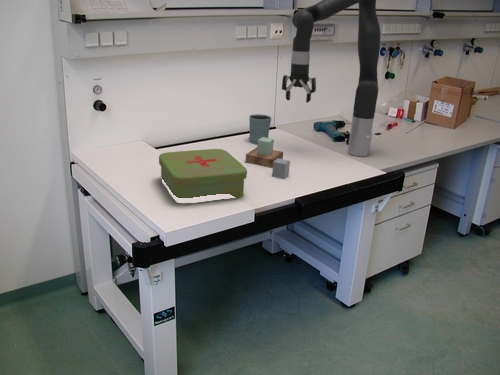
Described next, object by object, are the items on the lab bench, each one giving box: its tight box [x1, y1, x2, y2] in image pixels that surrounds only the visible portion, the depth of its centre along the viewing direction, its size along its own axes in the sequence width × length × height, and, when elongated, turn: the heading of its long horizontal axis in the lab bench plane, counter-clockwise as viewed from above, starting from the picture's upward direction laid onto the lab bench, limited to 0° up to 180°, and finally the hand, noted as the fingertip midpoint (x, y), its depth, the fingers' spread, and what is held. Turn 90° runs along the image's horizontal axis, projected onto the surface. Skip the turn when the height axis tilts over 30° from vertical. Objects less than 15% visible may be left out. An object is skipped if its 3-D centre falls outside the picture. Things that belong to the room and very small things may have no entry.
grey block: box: [271, 158, 291, 180], centre depth 190 cm, size 5×5×6 cm
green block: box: [256, 137, 275, 156], centre depth 203 cm, size 5×5×6 cm
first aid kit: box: [158, 148, 248, 199], centre depth 173 cm, size 26×26×10 cm
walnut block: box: [245, 147, 284, 169], centre depth 205 cm, size 12×12×4 cm
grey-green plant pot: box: [248, 113, 272, 145], centre depth 228 cm, size 10×10×12 cm
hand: (297, 101), depth 208 cm, fingers open, 8 cm apart
